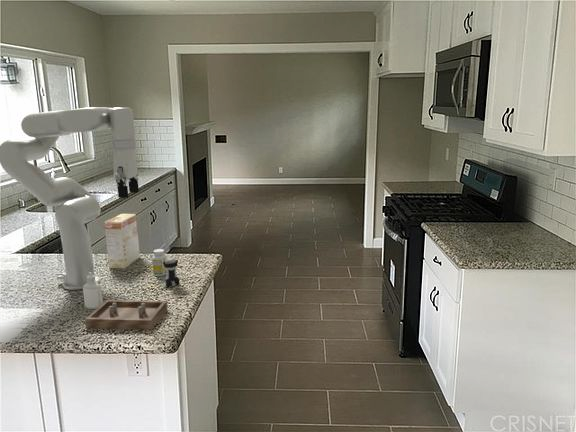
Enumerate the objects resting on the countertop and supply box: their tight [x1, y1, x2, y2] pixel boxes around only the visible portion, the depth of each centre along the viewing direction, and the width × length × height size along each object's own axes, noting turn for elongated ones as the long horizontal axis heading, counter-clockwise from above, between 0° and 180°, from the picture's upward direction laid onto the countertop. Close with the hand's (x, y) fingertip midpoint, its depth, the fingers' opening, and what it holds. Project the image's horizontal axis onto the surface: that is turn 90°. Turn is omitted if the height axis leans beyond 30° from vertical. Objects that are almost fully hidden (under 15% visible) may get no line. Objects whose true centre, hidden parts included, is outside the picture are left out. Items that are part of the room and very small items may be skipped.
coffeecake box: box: [103, 213, 141, 269], centre depth 200 cm, size 15×7×20 cm, turn 172°
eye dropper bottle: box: [82, 272, 104, 310], centre depth 156 cm, size 4×6×12 cm
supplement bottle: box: [151, 248, 167, 277], centre depth 186 cm, size 5×5×10 cm
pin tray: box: [84, 299, 168, 331], centre depth 148 cm, size 20×14×4 cm
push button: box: [160, 257, 180, 288], centre depth 174 cm, size 7×5×10 cm
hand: (129, 194), depth 166 cm, fingers open, 9 cm apart
